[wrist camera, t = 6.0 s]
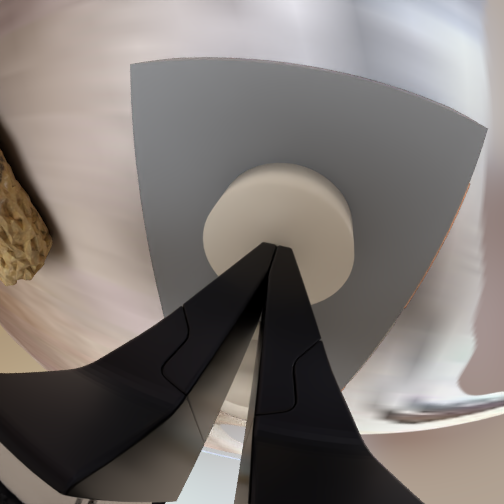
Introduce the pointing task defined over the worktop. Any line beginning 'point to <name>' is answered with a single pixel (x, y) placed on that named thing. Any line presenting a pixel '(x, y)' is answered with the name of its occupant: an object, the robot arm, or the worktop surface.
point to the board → (310, 156)
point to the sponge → (19, 231)
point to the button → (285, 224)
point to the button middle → (244, 375)
